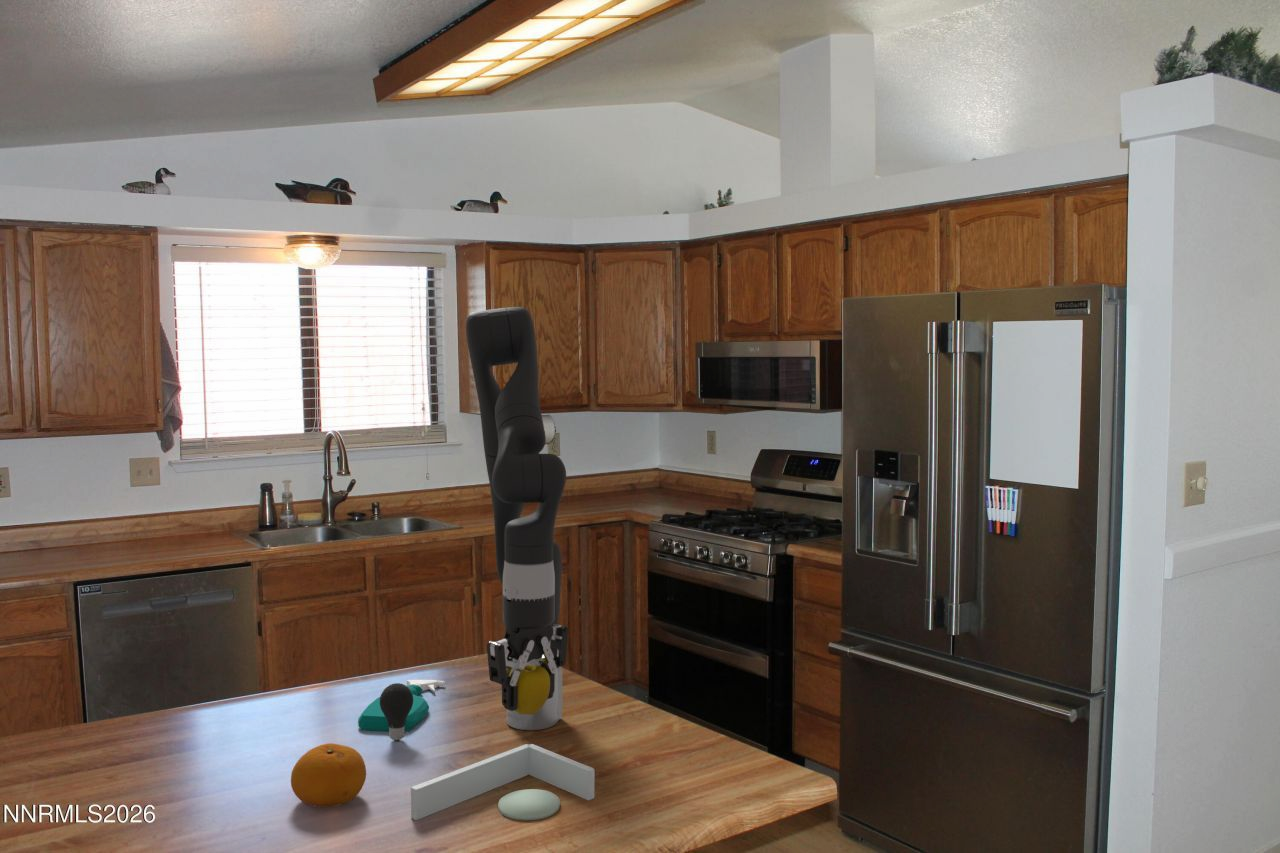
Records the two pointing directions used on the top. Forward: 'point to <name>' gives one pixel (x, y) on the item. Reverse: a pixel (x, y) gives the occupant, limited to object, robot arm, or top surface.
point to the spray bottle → (377, 721)
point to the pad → (529, 804)
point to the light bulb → (396, 708)
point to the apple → (532, 689)
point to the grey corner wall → (501, 778)
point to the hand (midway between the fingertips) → (528, 702)
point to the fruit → (328, 775)
